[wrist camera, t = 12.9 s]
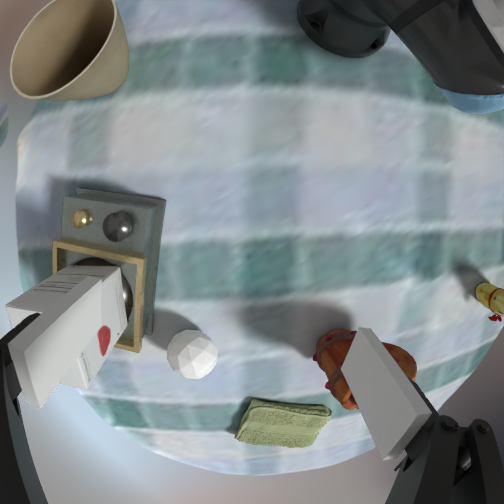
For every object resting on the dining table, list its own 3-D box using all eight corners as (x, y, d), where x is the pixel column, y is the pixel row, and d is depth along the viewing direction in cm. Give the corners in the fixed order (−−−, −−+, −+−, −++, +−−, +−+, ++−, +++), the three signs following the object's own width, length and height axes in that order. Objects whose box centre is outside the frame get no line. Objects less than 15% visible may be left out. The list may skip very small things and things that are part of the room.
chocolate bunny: (477, 274, 47) (526, 299, 32) (498, 289, 48) (541, 313, 34) (463, 303, 48) (509, 334, 34) (485, 315, 50) (526, 343, 35)
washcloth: (249, 394, 50) (250, 405, 47) (332, 403, 52) (337, 413, 49) (232, 434, 53) (232, 445, 50) (308, 441, 55) (311, 451, 52)
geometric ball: (205, 327, 48) (234, 343, 42) (192, 369, 47) (218, 389, 41) (167, 317, 43) (192, 334, 37) (153, 363, 42) (175, 386, 36)
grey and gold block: (80, 187, 38) (52, 191, 31) (166, 200, 40) (151, 205, 32) (76, 313, 43) (55, 334, 36) (152, 332, 45) (139, 359, 37)
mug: (308, 366, 48) (331, 426, 34) (308, 328, 46) (334, 385, 32) (382, 350, 49) (420, 398, 34) (386, 312, 47) (431, 357, 32)
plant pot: (58, 116, 35) (-5, 101, 20) (86, 36, 32) (39, -3, 16) (136, 124, 37) (86, 99, 21) (165, 36, 33) (137, -19, 18)
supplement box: (129, 326, 38) (89, 393, 23) (77, 321, 37) (26, 377, 23) (122, 265, 36) (66, 314, 21) (67, 263, 35) (2, 304, 21)
